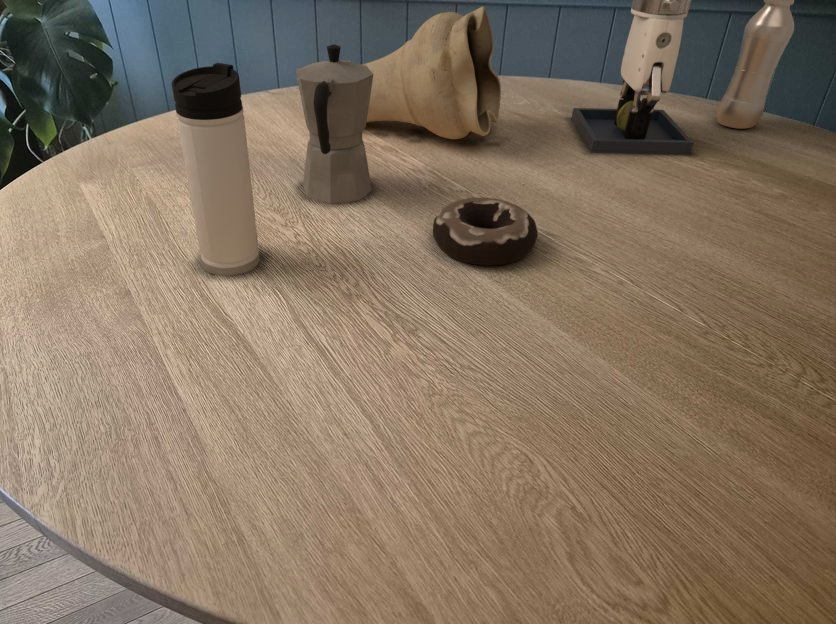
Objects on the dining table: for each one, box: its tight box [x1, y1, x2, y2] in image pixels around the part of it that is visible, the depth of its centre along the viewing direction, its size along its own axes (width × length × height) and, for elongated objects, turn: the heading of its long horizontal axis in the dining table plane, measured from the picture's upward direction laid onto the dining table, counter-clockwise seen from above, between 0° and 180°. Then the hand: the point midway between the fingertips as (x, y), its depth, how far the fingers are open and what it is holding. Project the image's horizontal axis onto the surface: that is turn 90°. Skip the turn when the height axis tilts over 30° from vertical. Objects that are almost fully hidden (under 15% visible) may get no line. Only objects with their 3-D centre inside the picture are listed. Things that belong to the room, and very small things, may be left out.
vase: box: [362, 6, 502, 140], centre depth 101 cm, size 22×22×28 cm
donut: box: [432, 197, 538, 267], centre depth 75 cm, size 12×12×4 cm
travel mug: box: [171, 62, 261, 277], centre depth 66 cm, size 6×7×20 cm
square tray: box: [570, 107, 695, 156], centre depth 103 cm, size 15×15×2 cm
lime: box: [617, 101, 634, 132], centre depth 101 cm, size 4×5×5 cm
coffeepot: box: [295, 43, 374, 205], centre depth 81 cm, size 15×9×18 cm, turn 171°
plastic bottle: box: [715, 0, 795, 130], centre depth 101 cm, size 6×7×20 cm
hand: (629, 130), depth 103 cm, fingers closed on lime, 5 cm apart
